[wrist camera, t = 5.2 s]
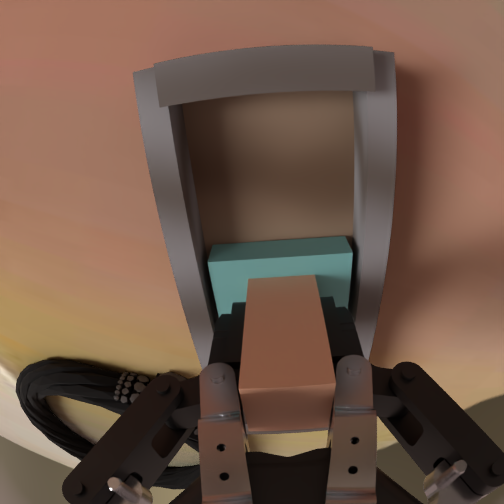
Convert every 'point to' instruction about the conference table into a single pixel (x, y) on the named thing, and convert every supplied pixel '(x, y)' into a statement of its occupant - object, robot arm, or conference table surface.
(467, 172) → the conference table surface
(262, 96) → the board
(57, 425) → the cable lock
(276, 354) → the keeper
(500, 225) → the conference table surface
